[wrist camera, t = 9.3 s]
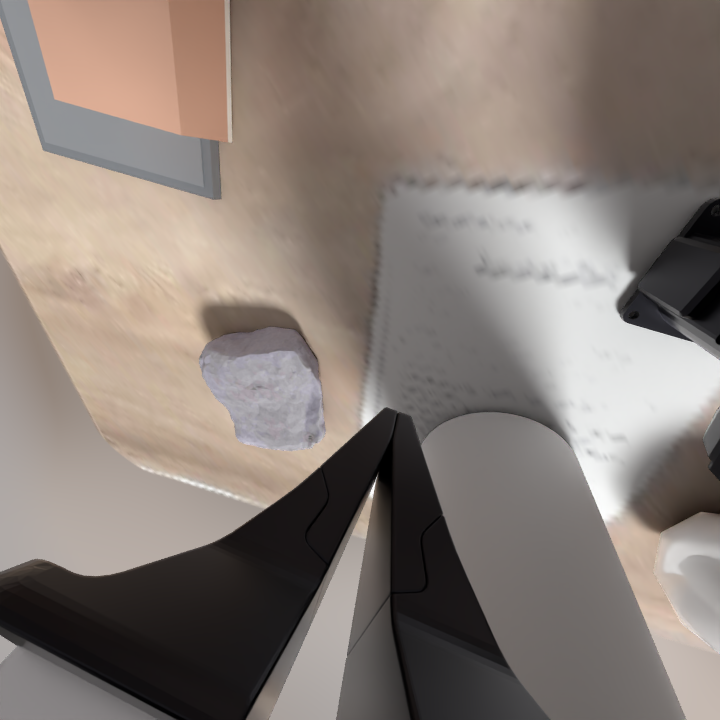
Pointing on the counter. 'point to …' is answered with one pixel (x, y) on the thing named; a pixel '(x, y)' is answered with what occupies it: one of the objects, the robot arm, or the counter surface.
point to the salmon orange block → (142, 60)
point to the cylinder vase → (546, 569)
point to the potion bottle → (693, 574)
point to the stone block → (267, 387)
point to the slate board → (105, 125)
